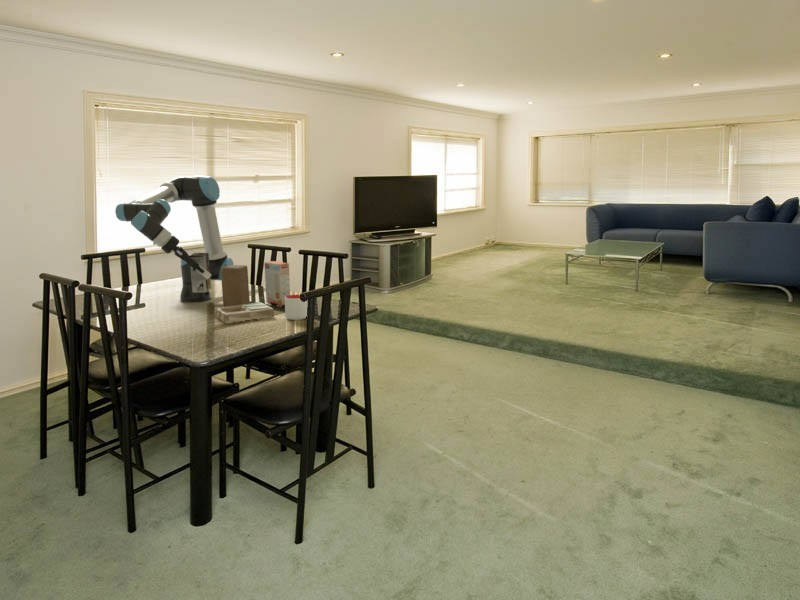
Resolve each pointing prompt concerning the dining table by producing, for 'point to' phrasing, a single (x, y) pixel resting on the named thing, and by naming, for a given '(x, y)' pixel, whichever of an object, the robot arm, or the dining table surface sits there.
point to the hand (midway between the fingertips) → (208, 275)
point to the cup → (295, 307)
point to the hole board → (244, 312)
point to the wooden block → (235, 285)
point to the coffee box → (197, 279)
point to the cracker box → (277, 282)
